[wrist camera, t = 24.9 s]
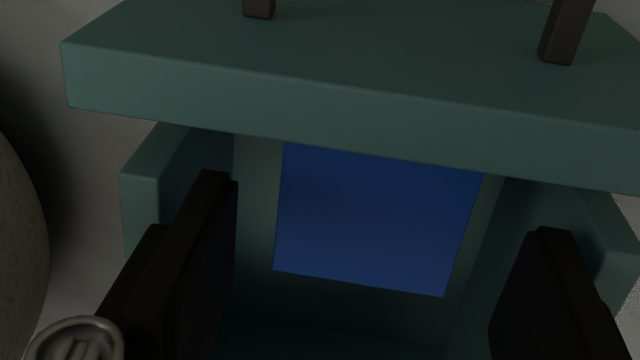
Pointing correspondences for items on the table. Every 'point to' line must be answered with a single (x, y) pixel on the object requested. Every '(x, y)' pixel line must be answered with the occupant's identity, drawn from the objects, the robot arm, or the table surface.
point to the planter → (20, 255)
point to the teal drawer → (375, 144)
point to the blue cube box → (371, 218)
